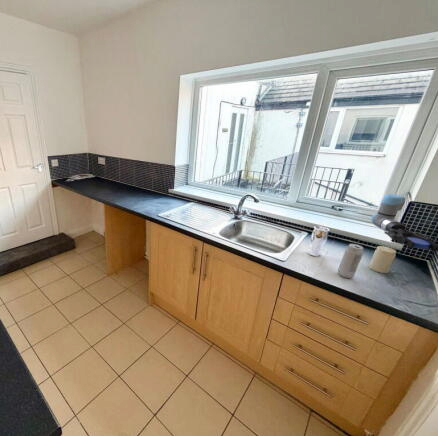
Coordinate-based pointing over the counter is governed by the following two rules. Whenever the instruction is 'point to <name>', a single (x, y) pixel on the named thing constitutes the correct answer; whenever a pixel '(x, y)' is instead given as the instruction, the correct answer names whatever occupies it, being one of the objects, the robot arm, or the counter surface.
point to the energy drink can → (350, 260)
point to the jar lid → (420, 243)
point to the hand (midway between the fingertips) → (424, 246)
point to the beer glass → (318, 240)
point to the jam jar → (382, 259)
